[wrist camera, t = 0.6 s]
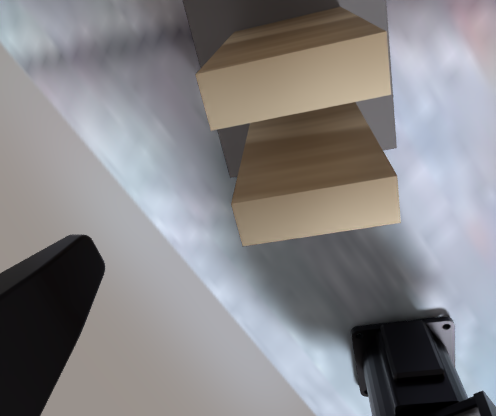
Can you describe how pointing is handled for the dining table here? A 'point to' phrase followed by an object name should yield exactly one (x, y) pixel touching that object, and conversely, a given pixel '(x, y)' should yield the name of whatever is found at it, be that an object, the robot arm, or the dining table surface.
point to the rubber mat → (269, 11)
